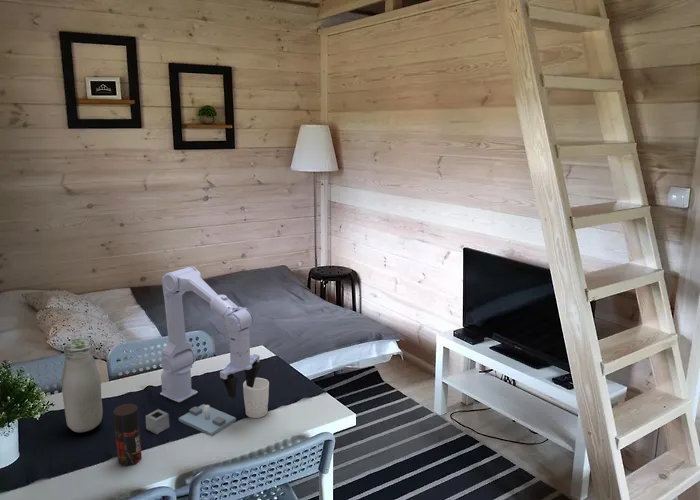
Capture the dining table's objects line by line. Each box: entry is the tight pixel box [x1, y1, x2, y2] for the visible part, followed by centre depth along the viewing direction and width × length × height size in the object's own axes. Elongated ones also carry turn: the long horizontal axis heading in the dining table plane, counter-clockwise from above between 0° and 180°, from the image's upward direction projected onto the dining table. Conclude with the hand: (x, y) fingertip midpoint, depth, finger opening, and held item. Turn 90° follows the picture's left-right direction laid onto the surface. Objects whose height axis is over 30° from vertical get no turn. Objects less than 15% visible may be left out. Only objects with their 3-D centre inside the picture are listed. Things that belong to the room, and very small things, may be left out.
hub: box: [145, 408, 170, 435], centre depth 163 cm, size 5×5×4 cm
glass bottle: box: [61, 337, 104, 433], centre depth 159 cm, size 10×10×28 cm
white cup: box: [242, 377, 270, 419], centre depth 171 cm, size 8×8×10 cm
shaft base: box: [178, 403, 237, 437], centre depth 167 cm, size 14×10×5 cm
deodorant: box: [112, 403, 143, 467], centre depth 147 cm, size 6×6×15 cm
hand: (241, 391), depth 165 cm, fingers open, 7 cm apart
